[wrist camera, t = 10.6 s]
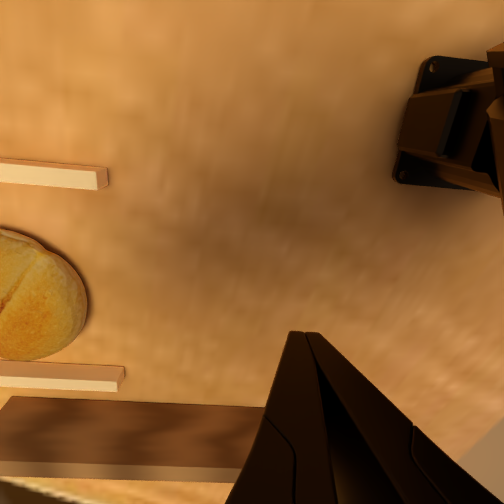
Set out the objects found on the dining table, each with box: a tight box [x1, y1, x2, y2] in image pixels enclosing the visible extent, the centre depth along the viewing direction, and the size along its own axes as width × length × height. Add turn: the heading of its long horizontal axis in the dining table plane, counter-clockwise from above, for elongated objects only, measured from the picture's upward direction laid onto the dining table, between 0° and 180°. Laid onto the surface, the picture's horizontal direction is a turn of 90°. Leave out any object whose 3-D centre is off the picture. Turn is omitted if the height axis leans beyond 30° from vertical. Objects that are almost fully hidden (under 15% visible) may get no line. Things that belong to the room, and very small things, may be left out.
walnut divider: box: [0, 396, 265, 483], centre depth 24 cm, size 22×2×5 cm, turn 85°
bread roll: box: [0, 229, 87, 361], centre depth 19 cm, size 8×9×4 cm
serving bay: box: [0, 158, 125, 392], centre depth 20 cm, size 13×16×2 cm
